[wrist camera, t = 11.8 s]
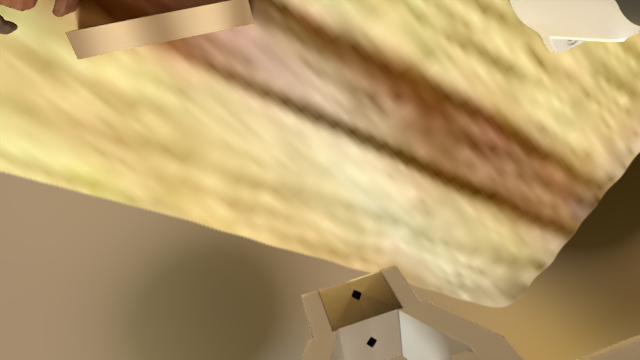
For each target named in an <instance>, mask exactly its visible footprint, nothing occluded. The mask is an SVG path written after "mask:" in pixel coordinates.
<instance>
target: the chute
mask: <svg viewBox="0 0 640 360" xmlns="http://www.w3.org/2000/svg"><path fill="white" fill-rule="evenodd" d="M249 24H254V22H253V18H252V14H251V9H250V5H249V1H248V0H227V1H222V2H217V3H212V4H207V5H202V6H196V7H191V8H186V9H181V10H176V11H171V12H165V13H160V14H155V15H150V16H145V17H140V18H134V19H129V20H124V21H119V22H114V23H109V24H103V25H98V26H93V27H88V28H83V29H78V30H74V31H70V32H66V35H67V37H68V39H69V41H70V43H71V45H72V48H73V50H74V52H75V54H76V56H77V59H83V58H87V57H92V56H97V55H102V54H107V53H112V52H117V51H122V50H127V49H131V48H136V47H141V46H146V45H151V44H156V43H161V42H166V41H171V40H176V39H180V38H185V37H190V36H195V35H200V34H205V33H210V32H215V31H220V30H225V29H229V28H234V27H239V26H244V25H249Z"/></svg>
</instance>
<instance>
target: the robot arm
mask: <svg viewBox="0 0 640 360" xmlns="http://www.w3.org/2000/svg"><path fill="white" fill-rule="evenodd" d="M510 3H511V5H512V8H513V10H514V12H515V13H516V15H517V16H518V18H519V19H520V20H521V21H522V22H523V23H524V24H525V25H527V26H528V27H529V28H531V29H533V30H534V31H536V32H537V33H538V34H539V35H540V36H541V38H542V40H543V42H544V44H545V46H546V47H547V49H548V50H549V51H551V52H564V51H566V50H568V49H570V48H573V47H575V46H577V45H579V44H581V43H583V42H585V41H604V42H621V41H625V40H626V39H627V37H630V36H633V35H635V34H637V33H639V32H640V0H510ZM301 296H302V301H303V305H304V309H305V313H306V316H307V320H308V324H309V328H310V332H311V336H312V339H310V340H308V343H307V346H306V348H305V351H304V354H303V356H302V359H301V360H387V359H390V358H393V357H396V356H400V355H403V356H404V357H405V358H407V359H408V360H523V358H522V357H521V356H520V355H519V354H518V353H517V351H515V349H514V348H513V347H512V346H511V344H510V343H509V342H508V341H507V340H506V338H505V337H504V336H502V335H500V334H498V333H496V332H493V331H491V330H489V329H487V328H485V327H483V326H480V325H478V324H476V323H474V322H472V321H469V320H467V319H465V318H463V317H460V316H459V315H456V314H454V313H452V312H450V311H447V310H445V309H443V308H441V307H439V306H437V305H434V304H432V303H430V302H428V301H423V302H421V301H420V300H419V298H418V297H417V295H416V294H415V292H414V291H413V289H412V288H411V286H410V285H409V284H408V282H407V281H406V279H405V278H404V276H403V275H402V273H401V272H400V271H399V269H398V268H397V267H396V266H391V267H388V268H385V269H382V270H379V271H377V272H373V273H370V274H367V275H364V276H361V277H359V278H355V279H352V280H349V281H347V282H343V283H339V284H336V285H333V286H329V287H326V288H322V289H319V290H318V291H313V292H310V293H307V294H303V295H301ZM575 360H640V335H637V336H635V337H632V338H630V339H627V340H624V341H622V342H619V343H616V344H614V345H611V346H609V347H606V348H603V349H601V350H598V351H596V352H593V353H590V354H588V355H585V356H583V357H580V358H577V359H575Z"/></svg>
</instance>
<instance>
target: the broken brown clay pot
mask: <svg viewBox="0 0 640 360" xmlns="http://www.w3.org/2000/svg"><path fill="white" fill-rule="evenodd" d="M36 2H37V0H0V5H4V6H7V7H10V8H13V9H16V10H20V11H25V10H28V9H31V8H33V7H34V6H35V5H36ZM78 4H79V0H56V1H55V5H54V8H53V11H52V12H53V14H54V15H55V16H57V17H61V16H64V15H66V14H69V13H71V12H74V11H75V10H76V8H77V6H78ZM16 29H17V25H16V24H15V23H13V22H10V21H6V20H4V18H3V17H2V16H1V15H0V33H1V34H9V33H11V32H13V31H15V30H16Z"/></svg>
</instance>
